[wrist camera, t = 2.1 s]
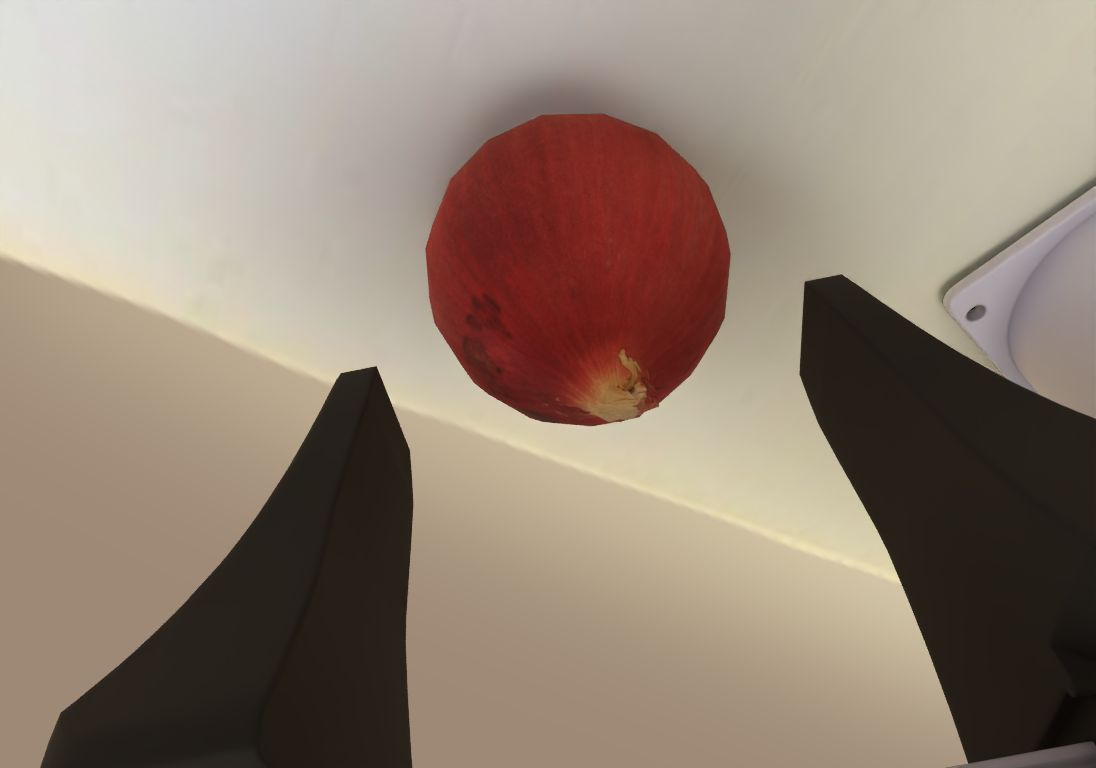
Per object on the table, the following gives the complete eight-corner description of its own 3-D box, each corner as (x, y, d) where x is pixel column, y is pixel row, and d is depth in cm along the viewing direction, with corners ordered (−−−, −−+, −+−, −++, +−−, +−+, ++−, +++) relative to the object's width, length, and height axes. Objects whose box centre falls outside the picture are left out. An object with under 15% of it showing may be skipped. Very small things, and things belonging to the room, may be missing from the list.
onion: (558, 323, 22) (608, 576, 16) (374, 197, 19) (351, 448, 13) (729, 165, 19) (864, 394, 13) (549, -9, 16) (618, 185, 10)
